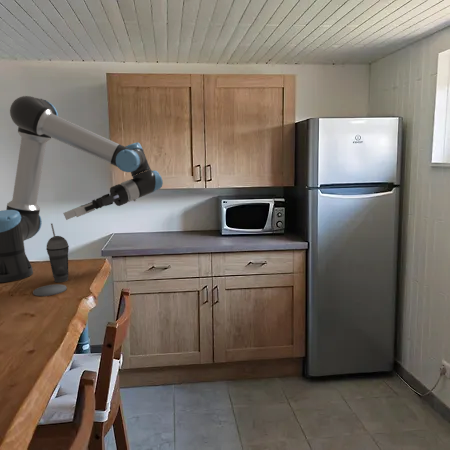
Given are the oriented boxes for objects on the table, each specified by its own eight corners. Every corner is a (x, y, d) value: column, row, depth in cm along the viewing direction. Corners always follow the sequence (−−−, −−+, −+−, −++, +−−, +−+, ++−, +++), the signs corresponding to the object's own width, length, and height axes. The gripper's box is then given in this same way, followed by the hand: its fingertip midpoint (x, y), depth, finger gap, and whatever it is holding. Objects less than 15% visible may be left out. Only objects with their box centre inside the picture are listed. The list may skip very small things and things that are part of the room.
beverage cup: (65, 283, 152) (58, 225, 148) (45, 283, 154) (38, 225, 150) (76, 277, 159) (70, 221, 156) (57, 277, 161) (51, 221, 157)
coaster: (26, 293, 144) (26, 291, 144) (54, 284, 152) (54, 282, 152) (45, 298, 138) (44, 296, 138) (73, 288, 146) (72, 287, 146)
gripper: (141, 199, 158) (85, 222, 147) (116, 205, 179) (65, 226, 167) (132, 178, 156) (75, 201, 145) (108, 187, 177) (56, 208, 166)
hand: (69, 215), depth 156 cm, fingers open, 13 cm apart
